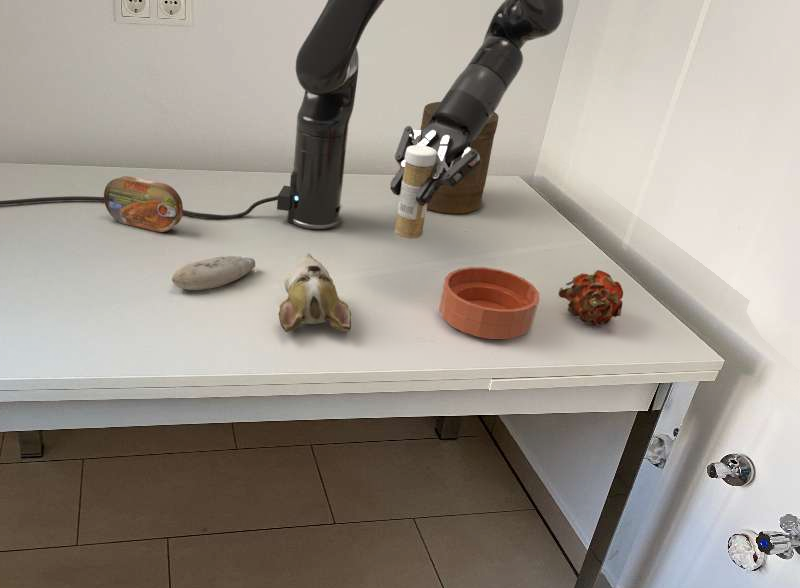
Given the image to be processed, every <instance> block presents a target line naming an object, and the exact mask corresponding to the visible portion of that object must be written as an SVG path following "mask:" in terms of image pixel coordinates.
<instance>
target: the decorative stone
mask: <svg viewBox="0 0 800 588" xmlns="http://www.w3.org/2000/svg"><path fill="white" fill-rule="evenodd" d="M255 268H256V261H255V260H254V258H251V257H243V256H237V255H225V256H224V255H223V256H216V257H210V258H205V259H202V260H197V261H194V262H190V263H187V264H184V265H182V266H180V267H179V268H178V269H177V270H176V271H175V272H174V273H173V274H172V276H171V282H172V283H173V284H174V285H175V286H176V287H178V288H181V289H183V290H188V291H203V290H210V289H216V288H219V287H221V286H225V285H228V284H230V283H232V282H234V281H236V280H239V279H241V278H242V277H244V276H246V275H247V274H249V272H250V271H253V270H254V269H255Z"/></svg>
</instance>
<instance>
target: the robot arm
mask: <svg viewBox="0 0 800 588" xmlns="http://www.w3.org/2000/svg"><path fill="white" fill-rule="evenodd" d="M384 2H385V0H327V1H326V4H325V6H324V8H323V9H322V11H321V13H320V15H319V16H318V18H317V20H316V22H315V23H314V25H313V26H312V28H311V30H310V32H309V33H308V34H307V37H306V38H305V40H304V41H303V42H302V45H301V47H300V48H299V50H298V52H297V55H296V58H295V75H296V79H297V81H298V83H299V85H300V86H301V88H302V89H303V90H304V95H303V99H302V101H301V105H300V107H299V109H298V112H297V115H296V126H295V127H296V130H295V143H294V157H293V169H292V171H291V173H290V182H289V185H283V186H282V188H281V189H280V191H279V193H278V195H276V196H271V197H266V198H262V199H260V200H258V201H255V202H254V203H252V204H251V205H250V206H249V207H248V208H247V209H246V210H245V211H243V212H239V213H236V214H228V215H227V214H226V215H225V214H213V213H203V212H195V211H189V210H187V209H186V210H185V209H183V214H182V215H187V216H190V217H191V216H192V217H196V218H207V219H215V220H217V219H218V220H233V219H240V218H242V217H245V216H248V215H249V214H250V213H251V212H252V211H253V210H254V209H255V208H257V207H258V206H261V205H263V204H267V203H271V202H275V201H276V203H277V204H276V210H278V211H286V212H287V223H289V224H294V225H296V226H297V227H299V228H300V227H301V228H304V229H309V230H329V229H332V228H335V227H336V226H338V225H339V223H340V214H341V213H340V212H341V209H342V205H343V203H342V202H341V201H342V192H343V184H344V183H343V182H344V173H345V163H346V154H347V145H348V134H349V125H350V121H351V117H352V115H353V113H354V112H353V111H354V107H355V99H356V92H357V84H358V77H359V69H360V68H359V67H360V66H359V65H360V57H359V51H358V48H357V46H358V44H359V42H360V40H361V37H362V35H363V33H364V32H365V29H366V28H367V26H368V25H369V22H370V21H371V19H372V18H373V16H374V15H375V14H376V13H377V11H378V10H379V8H380V7H381V6H382V4H383V3H384ZM564 8H565V7H564V0H504V1H503V2H502V3H501V4H500V6H499V7H498V8H497V9H496V10H495V12H494V14H493V16H492V18H491V20H490V22H489V25H488V27H487V30H486V33H485V35H484V38H483V41H482V44H481V46H479V48H478V49H477V51H476V52H475V54H473V55H474V56H473V57H472V58H471V60H470V61H469V63H468V64H467V66H466V67H465V68H464V69H463V71H462V72H461V73H460V74H459V75H458V76H457V77H456V79H455V81H454V82H453V83H452V85H451V86H450V88H449V89H448V91H447V92H446V94H445V95H444V97H443V98H442V100H441V101H440V102H441V103H440V104H439V106H438V107H437V109H436V110H435V111H434V113H433V116H432V119H431V121H430V123H429V124H428V125H427V126H425V127H424V128H423V129H422V130H420V129H413V128H412V126H411V125H406V127H405V128H403V129H404V130H403V131H402V135H401V138H400V141H399V143H398V146H397V148H396V152H395V155H394V159H395V161H396V163H397V164H398V166H399V169H398V170H397V172H396V174H395V175H394V177H393V178H392V179H391V181H390V184H389V185H390V190H391V192H392V194H393V195H396V196H400V191H401V185H402V179H403V174H404V167H405V153H406V149H407V148H408V147H409V146H413V145H422V146H427V147H431V148H433V149H435V150H436V152H437V155H436V162H435V167H434V170H433V173H432V178H428V179H427V181H426V182H425V184H424V185H423V187H422V188H421V190H420V191H419V193H418V194H417V196H416V201H417V202H418V204H419V205H421V206H424V205H425V204H426V203H429V202H430V201H431V199H432V198H433V196H434V195H435V193H436V192H437V190H438V189H439V188H440V187H442V186H444V185H448V186H449V187H451V188H452V187H454V186H456V185H457V184H458V183H459V182H460V181H461V180H462V179H463V178H464V177H465V176H467V175H468V174H469V173H470V172H471V171H472V170H473V169H474V168H475V167H476V166H478V165H479V164H480V162H481V159H480V156H479V154H478V152H477V151H476V149H471V148H470V146H471V143H473V142H474V141H475V140H476V138H477V137H478V135H479V134H480V132H481V131H482V129H483V128H484V126H485V125H486V123H487V122H488V120H489V119H490V117H491V116H492V114H493V113H494V112H495V111H496V110H497V108H498V107H499V106H500V103H501V102H502V100H503V97H504V95H505V93H506V92H507V90H508V89H509V88H510V86H511V85H512V83H513V81H514V80H515V79H516V78H517V76H518V74H519V72H520V70H521V69H522V67H523V63H524V55H523V52H522V48H523V47H524V46H525V44H526V43H527V42H529V41H533V40H537V39H541V38H544V37H547V36H550V35H551V34H553V33H554V32H556V31H557V30H558V28H559V27H560V25H561V23H562V21H563V16H564ZM419 139H421V142H420V143H419V144H418V140H419ZM461 156H462V158H461V159H460V160H459V161H458V162H457V163H455V164H454V165H453V166H452V164H453V162H454V160H456V159H458V158H459V157H461ZM61 201H62V202H64V201H93V202H94V201H95V202H104V196H85V195H83V196H82V195H81V196H80V195H79V196H78V195H75V196H73V195H72V196H70V195H69V196H47V197H45V196H44V197H32V198H19V199H8V200H7V199H6V200H0V206H5V205H17V204H28V203H29V204H30V203H41V202H61Z"/></svg>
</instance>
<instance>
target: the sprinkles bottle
mask: <svg viewBox="0 0 800 588" xmlns="http://www.w3.org/2000/svg"><path fill="white" fill-rule="evenodd" d="M436 155H437V152H436V150H435V149H433V148H431V147H427V146H422V145H418V144H417V145H413V146H409V147H408V148H407V149H406V153H405V167H404V174H403V179H402V185H401V191H400V195H399V199H398V205H397V215H396V221H395V226H394V233H395V234H396V235H397V236H399V237H400V238H404V239H409V240H412V239H418V238H421V237H422V236H423V234H424V225H425V218H426V215H427V210H428V209H427V204H428V203H426V204H425V205H424V206H421V205H419V204H418V202H417V201H416V196H417V194H418V193H419V191H420V190H421V188H422V187H423V185H424V184H425V182H426V181H427V179H428V178H431V177H432V171H433V167H434V164H435V162H436Z"/></svg>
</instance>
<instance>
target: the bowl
mask: <svg viewBox="0 0 800 588" xmlns="http://www.w3.org/2000/svg"><path fill="white" fill-rule="evenodd" d="M539 302H540V292H539V290H538V289H537V288H536V286H534V284H533V283H531V282H529V281H528V280H527V279H525V278H524V277H522V276H519V275H517V274H515V273H512V272H510V271H505V270H502V269H498V268H491V267H484V266H470V267H461V268H458V269H456V270H453V271H451V272H449V273H448V274H447V275H446V276H445V277H444V281H443V286H442V290H441V295H440V301H439V307H438V312H439V314H440V316H441V317H442V319H443V320H444V321H445V322H446V323H447V324H449V325H450V327H453V328H455V329H457V330H459V331H461V332H462V333H464V334H468V335H471V336H474V337H479V338H483V339H484V338H485V339H491V340H509V339H515V338H518V337H519V338H520V337H521V336H523V335H525V334H527V333H529V331H530V330H531V328H532V327H533V325H534V322H535V321H534V320H535V318H536V313H537V310H538V306H539Z"/></svg>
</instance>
